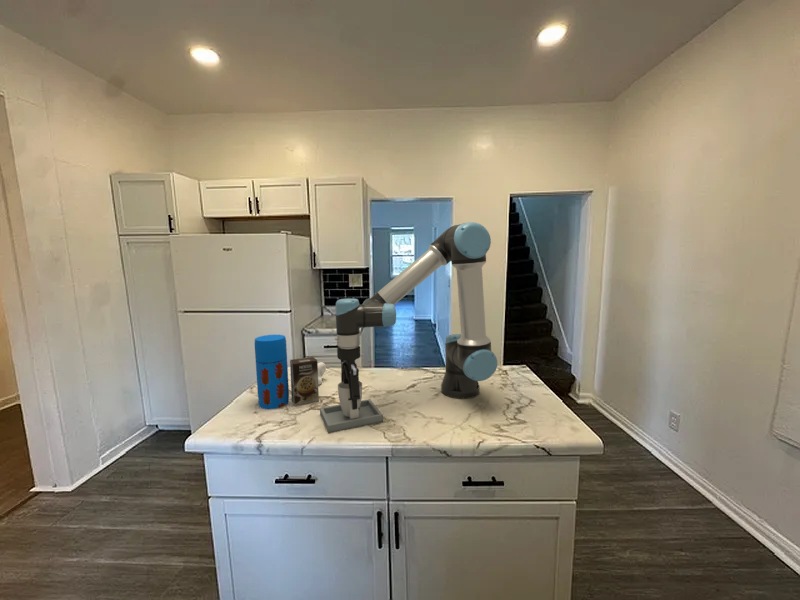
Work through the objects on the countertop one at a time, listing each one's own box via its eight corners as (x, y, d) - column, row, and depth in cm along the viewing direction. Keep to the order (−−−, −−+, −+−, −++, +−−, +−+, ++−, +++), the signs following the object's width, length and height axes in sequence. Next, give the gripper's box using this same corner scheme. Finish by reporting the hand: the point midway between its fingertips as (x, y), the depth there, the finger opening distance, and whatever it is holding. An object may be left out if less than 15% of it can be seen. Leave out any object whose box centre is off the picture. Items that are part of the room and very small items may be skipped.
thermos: (294, 402, 132) (291, 337, 129) (267, 412, 124) (263, 342, 121) (280, 395, 140) (276, 333, 136) (253, 403, 132) (249, 338, 129)
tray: (370, 405, 129) (369, 399, 128) (383, 422, 116) (383, 414, 116) (320, 414, 122) (319, 408, 122) (328, 433, 109) (328, 425, 109)
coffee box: (294, 407, 129) (292, 364, 127) (291, 400, 134) (289, 359, 132) (319, 401, 133) (317, 360, 131) (315, 395, 138) (313, 355, 136)
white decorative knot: (292, 387, 148) (290, 366, 147) (305, 377, 160) (304, 358, 159) (316, 389, 146) (316, 367, 145) (328, 379, 157) (328, 359, 156)
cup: (358, 419, 114) (357, 389, 113) (335, 417, 116) (333, 388, 114) (366, 408, 122) (365, 380, 120) (343, 407, 123) (342, 379, 122)
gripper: (330, 340, 124) (333, 402, 127) (345, 355, 105) (347, 428, 108) (351, 338, 126) (353, 399, 129) (369, 352, 108) (371, 423, 111)
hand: (350, 412), depth 119 cm, fingers closed on cup, 8 cm apart
